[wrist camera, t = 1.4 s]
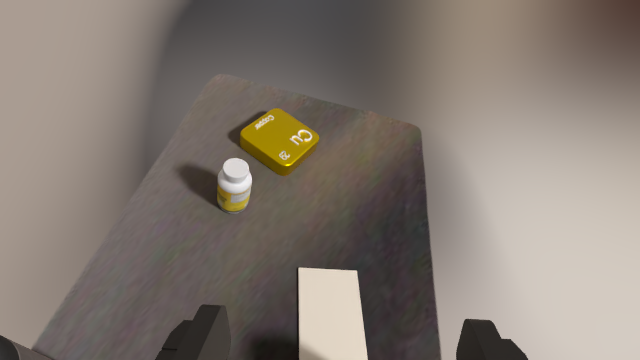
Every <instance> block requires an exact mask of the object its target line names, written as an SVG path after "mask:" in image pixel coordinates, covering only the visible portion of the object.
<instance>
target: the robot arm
mask: <svg viewBox="0 0 640 360" xmlns="http://www.w3.org/2000/svg"><path fill="white" fill-rule="evenodd" d="M230 344H231V335H230V329H229V323H228V317H227V311H226V307H225V306H222V305H205V304H203V305H201V306H200V308H199V309H198V311H197V313H196V315H195V317H194V319H193V321H190V320H184V321H183V322H182V323H181V324H179V325H178V326H177V327H176V328H175V329H174V330H173V331H172V332H171V333H170V335H169V336H168V338H167V340H166V342H165V343H164V345H163V347H162V350H161V351H160V352H159V354H158V355H157V357H156V359H155V360H227V357H228V354H229V350H230ZM456 359H457V360H528V358H527V357H526V355H525V354H524V353H523V352H522V351H521V350H520V349H519V348H518V347H517V345H516V344H515V343H514V342H513V341H511V339H501V337H500V335H499V333H498V331H497V329H496V327H495V325H494V323H493V322H492V321H490V320H478V319H465V321H464V324H463V327H462V331H461V335H460V339H459V343H458V347H457V352H456ZM0 360H52V359H50V358H48V357H46V356H43V355H41V354H39V353H37V352H35V351H33V350H30V349H28V348H26V347H24V346H21V345H19V344H17V343H15V342H13V341H11V340H9V339H7V338H5V337H3V336H1V335H0Z"/></svg>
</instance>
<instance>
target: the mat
mask: <svg viewBox="0 0 640 360" xmlns="http://www.w3.org/2000/svg"><path fill="white" fill-rule="evenodd" d="M298 290H299V360H368V359H367V351H366V342H365V334H364V326H363V318H362V310H361V302H360V293H359V285H358V277H357V271H352V270H333V269H314V268H298Z"/></svg>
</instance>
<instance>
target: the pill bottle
mask: <svg viewBox="0 0 640 360" xmlns="http://www.w3.org/2000/svg"><path fill="white" fill-rule="evenodd" d="M251 184H252V176H251V174H250V172H249V167H248V164H247V163H246V162H245V161H244V160H242V159H238V158H232V159H229V160H227V161H226V162H225V163H224V165H223V169H222V170H221V171H220V172H219V174H218V189H217V202H218V205H219V207H220V208H221V209H222V210H224V211H225V212H228V213H238V212H241V211H243V210H244V209H245V208H246V207H247V205H248V202H249V196H250V190H251Z"/></svg>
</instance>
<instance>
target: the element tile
mask: <svg viewBox="0 0 640 360" xmlns="http://www.w3.org/2000/svg"><path fill="white" fill-rule="evenodd" d="M318 141H319V135H318V134H317V133H316V132H314V131H313V130H311V129H310V128H308V127H307V126H305V125H304V124H302V123H301V122H299V121H298V120H296V119H295V118H294V117H292V116H291V115H289V114H288V113H286V112H285V111H283V110H281V109H278V108H275V109H272V110H270V111H269V112H267V113H266V114H264V115H263V116H261V117H260V118H259V119H257V120H256V121H254V122H253V123H251V124H250V125H248V126H247V127H245V128H244V129H243V130H242V131H241V133H240V146H241V148H242V149H244V150H245V151H246V152H248V153H249V154H250V155H252V156H253V157H255V158H256V159H257V160H259V161H260V162H261V163H263V164H264V165H266V166H267V167H268V168H270V169H271V170H273V171H274V172H275V173H277V174H278V175H281V176H286V175H289V174H290V173H291V172H292V171H293V170H294V169H295V168H297V167H298V166H299V165H300V164H301V163H302V162H303V161H304V160H305V159H306V158H307V157H308V156H310V155H311V154H312V153H313V152H314V151H315V149H316V147H317V144H318Z"/></svg>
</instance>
